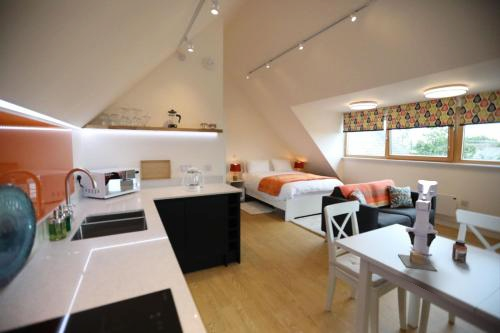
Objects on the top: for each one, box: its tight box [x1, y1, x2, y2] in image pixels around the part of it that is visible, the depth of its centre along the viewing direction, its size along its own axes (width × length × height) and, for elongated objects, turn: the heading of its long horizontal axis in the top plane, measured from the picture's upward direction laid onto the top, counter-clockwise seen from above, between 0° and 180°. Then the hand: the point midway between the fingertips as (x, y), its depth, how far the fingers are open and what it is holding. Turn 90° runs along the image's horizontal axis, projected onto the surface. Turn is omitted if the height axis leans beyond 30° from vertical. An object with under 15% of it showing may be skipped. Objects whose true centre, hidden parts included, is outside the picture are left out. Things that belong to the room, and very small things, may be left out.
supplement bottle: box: [451, 239, 468, 263], centre depth 132 cm, size 6×6×11 cm
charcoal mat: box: [397, 253, 438, 272], centre depth 130 cm, size 14×14×1 cm
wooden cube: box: [409, 250, 425, 265], centre depth 130 cm, size 5×5×5 cm
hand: (420, 245), depth 131 cm, fingers open, 7 cm apart
